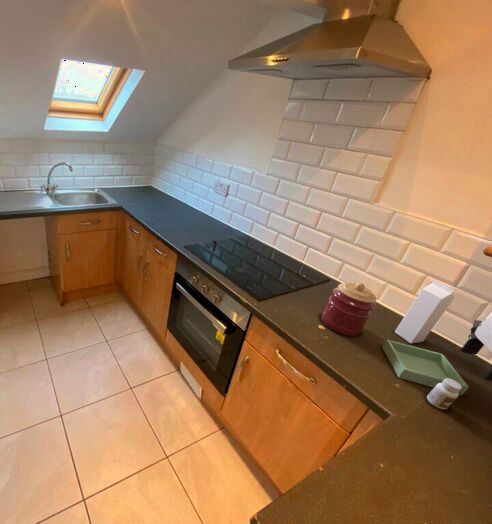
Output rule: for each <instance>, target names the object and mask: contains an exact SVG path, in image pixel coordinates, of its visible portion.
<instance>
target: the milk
mask: <svg viewBox="0 0 492 524" xmlns="http://www.w3.org/2000/svg"><path fill="white" fill-rule="evenodd" d="M454 292H455V288H452V287H450V286H448V285H446V284H443V283H442V282H439V281H438V280H436V279H435V280H433V281H432V282H431V283H430V284H428V285H426V286H424V287H422V288H421V290H420V291H419V293H418V295H417V296H416V298H415V299H414V300H413V303H412V304H411V306H410V307H409V309H408V310H407V312H406V313H405V314H404V316H403V318H402V320H401V321H400V322H399V324H398V325H397V327H396V328H395V330H394V333H395V334H396V335H398V336H399V337H401V338H402V339H404V340H405V341H407V343H410V344H416V343H422V342H424V341H425V339H426V338H427V337H428V335H429V334H430V333H431V331H432V330H433V328H434V327H435V326H436V325H437V323H438V321H439V320H440V319H441V317H442V316H443V314H445V312H446V310H448V308H449V306H450V305H451V304H452V302H453V301H454V300H455V296H454V294H453V293H454Z"/></svg>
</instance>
